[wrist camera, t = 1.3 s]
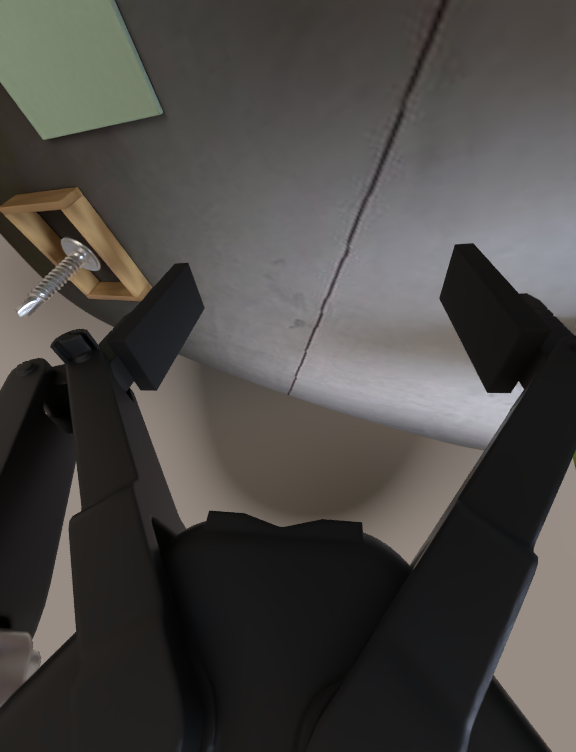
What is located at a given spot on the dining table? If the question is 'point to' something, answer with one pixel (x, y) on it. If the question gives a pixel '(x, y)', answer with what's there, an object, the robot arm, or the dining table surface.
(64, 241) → the screw
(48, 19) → the mat
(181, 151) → the dining table surface
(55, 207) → the wooden frame
